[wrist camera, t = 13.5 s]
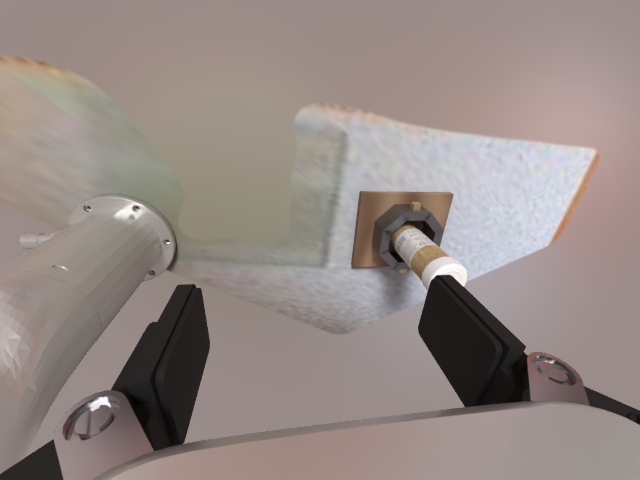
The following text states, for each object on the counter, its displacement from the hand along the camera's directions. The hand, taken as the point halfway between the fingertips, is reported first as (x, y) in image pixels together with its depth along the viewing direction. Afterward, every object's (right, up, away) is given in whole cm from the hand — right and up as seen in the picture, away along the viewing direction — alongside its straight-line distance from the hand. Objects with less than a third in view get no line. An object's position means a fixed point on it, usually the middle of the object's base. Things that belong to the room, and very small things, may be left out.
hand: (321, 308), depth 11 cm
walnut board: (+12, +4, +32) cm, 34 cm away
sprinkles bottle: (+12, +4, +31) cm, 33 cm away
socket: (+12, +4, +32) cm, 34 cm away
